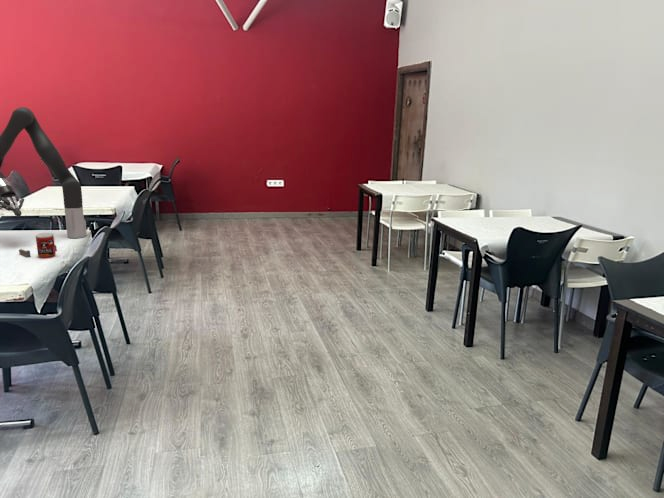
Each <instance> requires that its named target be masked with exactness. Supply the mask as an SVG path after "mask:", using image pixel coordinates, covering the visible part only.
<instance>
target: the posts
mask: <svg viewBox="0 0 664 498" xmlns="http://www.w3.org/2000/svg"><path fill="white" fill-rule="evenodd" d="M57 251H58V249H57V245H56V244H55V252H57ZM24 257H25V258H30V257H31V250H25V256H24Z"/></svg>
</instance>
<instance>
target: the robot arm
mask: <svg viewBox="0 0 664 498" xmlns="http://www.w3.org/2000/svg"><path fill="white" fill-rule="evenodd" d="M23 130H25V132H26V133H27V134H28V136H29V137H30V139H31V143H32V145H33V147H34V149H35V152H36V153H37V155H38V156H39V158H40V159H41V160H42V162H43V163H44V164H45V165H46V166H47V168H48V169H49V170H50V171H51V172H52V173H53V174H54V175H55V177H56V178H57V180H58V182H59V183H60V186H61V187H62V188H61V189H62V197H63V207H64V208H63V209H64V216H65V226H66V227H65V228H66V236H67V238H69V239H81V238H85V237H87V236H88V233H87V232H88V231H87V222H86V219H85V218H84V217H85V216H84V205H83V193H82V186H81V183H80V181H78V179H76V177H75V176H74V175H73V173H72V172H71V171H70V170H69V168H68V167H67V165H66V162H65V161H64V159H63V157H62V156H61V154H60V152H59V151H58V149H57V148H56V146H55V145H54V144H53V142H52V141H51V139H50V138H49V136H48V135H47V134H46V132H45V131H44V130H43V129H42V126H41V125H40V123H39V121H38V119H37V117H36V116H35V114H34V112H33V111H32V110H31V109H30V108H28V107H24V106H21V107H18V108H16V109H14V110H13V111H12V114H11V115H10V118H9V121H8V123H7V125H6V126H5V128H4V130H3V131H2V132H1V134H0V169H1V168H2V166H3V162H4V160H5V157H6V156H7V154H8V152H9V151H10V149H11V148H12V146H13V144H15V143H14V142H15V140H16V139H17V138H18V136H19V135H20V133H21V132H22V131H23ZM24 201H25V198H20V197H19V196H18V195H17V194H16V192H15V190H14V188H13V187H12V185H11V184H10V182H9V181H8V180H7V178H6V176H5V175H4V173H3V172H2V171H0V208H2V209H4V210H5V211H8V212H10V211H11V212H12V213H13V214H14V215H15V216H16V217H21V216H22V211H21V209H22V207H23V205H24Z"/></svg>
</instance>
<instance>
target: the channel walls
mask: <svg viewBox="0 0 664 498" xmlns="http://www.w3.org/2000/svg"><path fill="white" fill-rule="evenodd" d="M25 251H26V250H24V249H22V248H20V249H19V250H18V253H19V255H20V256H22V257H25Z"/></svg>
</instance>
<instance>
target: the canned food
mask: <svg viewBox="0 0 664 498" xmlns="http://www.w3.org/2000/svg"><path fill="white" fill-rule="evenodd" d="M35 242H36V243H35V244H36V250H37V257H38V258H40V259H51V258H54V257H55V256H56V251H55V245H56V243H55V237H54V233H51V232H42V233H38V234H36V235H35Z"/></svg>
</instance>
